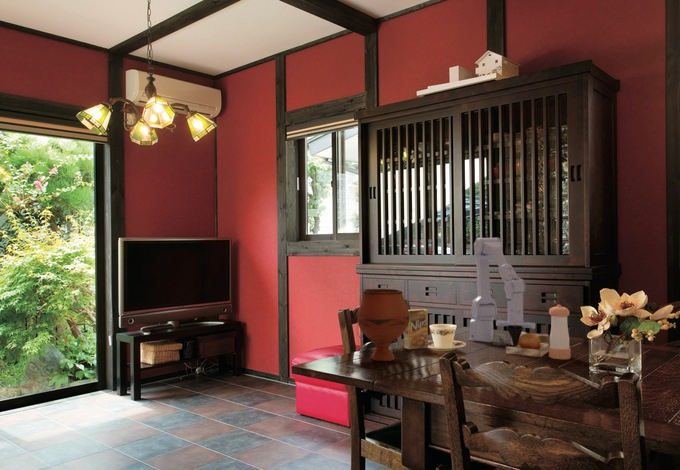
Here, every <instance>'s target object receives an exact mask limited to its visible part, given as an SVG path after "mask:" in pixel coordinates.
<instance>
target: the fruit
mask: <svg viewBox="0 0 680 470" xmlns="http://www.w3.org/2000/svg"><path fill="white" fill-rule="evenodd" d="M535 334H536V333H532V332H531V333H527V334H524V335H522V336H521V337H520V338H519V341H518V343H519V345H520V347H521V348H527V349H537V350H539V349H540V346H541V341H540V338H539V337H538V336H537V335H535Z"/></svg>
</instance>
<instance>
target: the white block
mask: <svg viewBox="0 0 680 470" xmlns="http://www.w3.org/2000/svg"><path fill="white" fill-rule="evenodd" d="M524 334H528V333H527V332H526V331H522V332H521V335H520V337H521V336H522V335H524ZM520 337H519V338H520ZM510 339H511V340H510V343H511V345H512V346H513V342H512V338H511V337H510Z"/></svg>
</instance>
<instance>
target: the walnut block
mask: <svg viewBox="0 0 680 470" xmlns="http://www.w3.org/2000/svg"><path fill="white" fill-rule="evenodd" d="M534 334H535V335H537V336H538V337H539V338H540V341H541V343H543V344H549V345H550V335H549V334H547V333H534Z"/></svg>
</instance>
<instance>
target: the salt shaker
mask: <svg viewBox="0 0 680 470" xmlns="http://www.w3.org/2000/svg"><path fill="white" fill-rule="evenodd" d="M548 310H549V311H548V313H549V315H550V318H551V319H550V321H551V325H550V326H551V327H550V334H549V351H548V357H549V358H551V359H555V360H570V359H571V355H572V354H571V347H570V336H569V329H568V317H569V316H570V310H569V309H568V308H567V307H565V306H562V305H561V304H557V305H556V306H553V307H550V308H549V309H548Z"/></svg>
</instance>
